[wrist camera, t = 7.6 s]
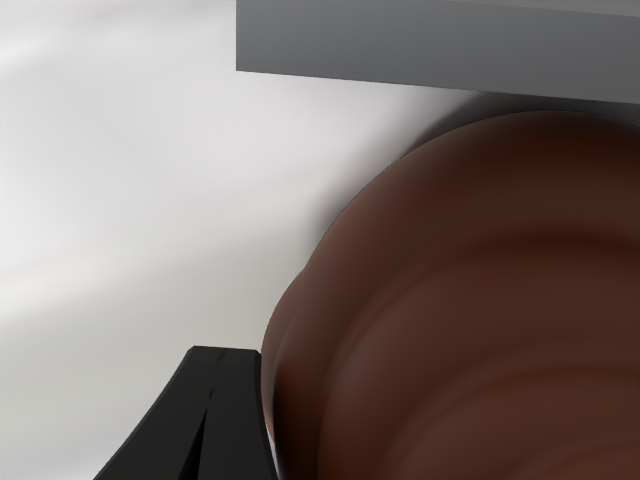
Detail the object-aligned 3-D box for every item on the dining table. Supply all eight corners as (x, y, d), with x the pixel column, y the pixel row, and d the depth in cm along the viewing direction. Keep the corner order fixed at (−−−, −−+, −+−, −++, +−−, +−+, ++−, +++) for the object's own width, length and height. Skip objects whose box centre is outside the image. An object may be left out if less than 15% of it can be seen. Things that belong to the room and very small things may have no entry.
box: (742, 536, 17) (814, 654, 14) (248, 505, 17) (233, 621, 14) (1132, 27, 10) (1420, 84, 7) (263, -50, 9) (236, -19, 7)
